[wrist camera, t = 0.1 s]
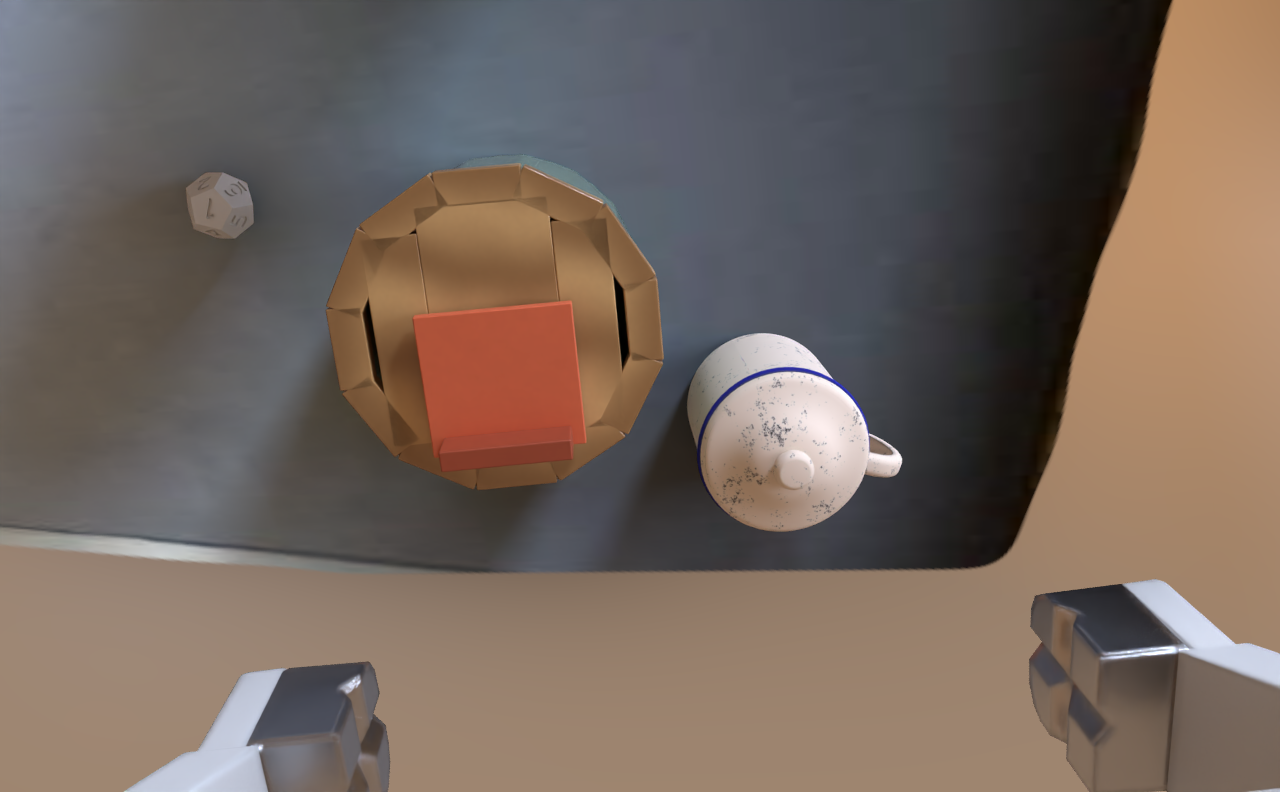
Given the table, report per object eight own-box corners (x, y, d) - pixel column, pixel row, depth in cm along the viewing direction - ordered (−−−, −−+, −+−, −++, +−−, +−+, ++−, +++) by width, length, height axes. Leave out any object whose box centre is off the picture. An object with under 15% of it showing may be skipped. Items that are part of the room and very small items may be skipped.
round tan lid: (308, 182, 47) (302, 184, 46) (645, 151, 47) (647, 153, 46) (364, 494, 51) (360, 502, 50) (671, 464, 52) (672, 471, 51)
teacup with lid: (664, 452, 63) (681, 534, 52) (707, 310, 61) (735, 365, 50) (849, 497, 65) (904, 586, 54) (899, 361, 62) (967, 425, 51)
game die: (266, 177, 57) (249, 183, 54) (256, 242, 58) (239, 251, 55) (201, 160, 57) (180, 165, 54) (192, 227, 58) (171, 235, 55)
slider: (414, 314, 47) (404, 328, 45) (571, 300, 48) (570, 312, 45) (435, 454, 50) (427, 474, 47) (586, 439, 50) (586, 459, 47)
